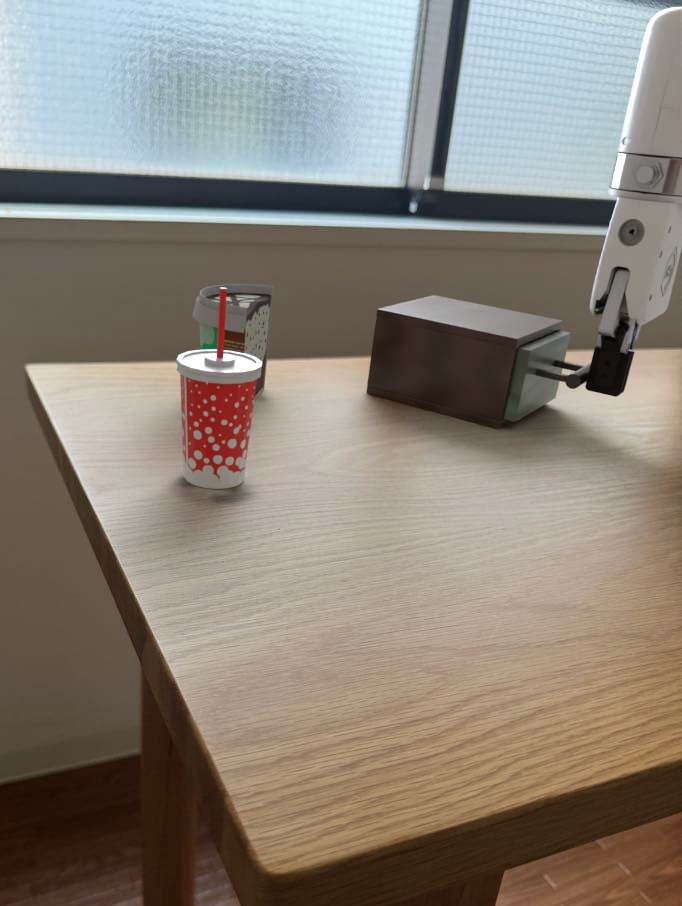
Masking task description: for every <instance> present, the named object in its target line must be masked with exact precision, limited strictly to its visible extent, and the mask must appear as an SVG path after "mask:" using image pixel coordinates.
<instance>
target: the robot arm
mask: <svg viewBox="0 0 682 906" xmlns="http://www.w3.org/2000/svg"><path fill="white" fill-rule="evenodd" d="M639 51H640V52H639V55H638V60H637V64H636V69H635V74H634V77H633V80H632V81H633V82H632V86H631V91H630V95H629V99H628V103H627V107H626V111H625V116H624V121H623V125H622V130H621V133H620V137H619V142H618V146H617V152H616V155H615V159H614V163H613V167H612V172H611V176H610V180H609V185H608V188H607V193H606V194H607V195H609V196H613V197H617V199H616V202H615V204H614V208H613V212H612V215H611V219H610V220H609V224H608V228H607V232H606V235H605V239H604V243H603V246H602V250H601V255H600V257H599V261H598V265H597V269H596V274H595V277H594V281H593V286H592V291H591V294H590V295H591V296H590V303H589V311H590V313H591V314H592V315H593V316H594V317H596V318H597V317H600V316H601V317H600V321H599V326H598V329H597V337H596V341H595V347H594V350H593V352H592V353H593V354H592V357H591V361H590V363H591V365H590V369H589V373H588V377H587V382H586V383H585V390H586V391H589V392H592V393H597V394H601V395H607V396H611V397H615V398H616V397H619V396H620V395H622V394H623V393H624V392H625V391H626V390H625V389H626V386H627V382H628V379H629V374H630V371H631V367H632V363H633V359H634V356H635V351H634V350H635V348H636V345H637V342H638V339H639V336H640V333H641V328H642V326H643V325H645V324H648V323H649V322H651V321H652V320H654V319H656V318H658V317H659V316H661V315H663V314H664V313H665V312H666V311H667V310H668V307H669V304H670V300H671V295H672V291H673V287H674V284H675V283H674V282H675V279H676V275H677V270H678V266H679V261H680V258H681V253H682V6H674V7H668V8H664V9H662V10H660V11H658V12H657V13H655V15H654V16H653V17H651V19H650V21H649V22H648V24H647V25H646V28H645V31H644V34H643V39H642V43H641V47H640V50H639Z"/></svg>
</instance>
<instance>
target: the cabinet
mask: <svg viewBox="0 0 682 906" xmlns="http://www.w3.org/2000/svg"><path fill="white" fill-rule="evenodd" d="M563 324H564V320H562V319H557V318H552V317H547V316H542V315H538V314H532V313H526V312H521V311H516V310H511V309H507V308H501V307H496V306H491V305H487V304H480V303H475V302H471V301H465V300H460V299H456V298H450V297H445V296H440V295H434V294H431V295H429V296H424V297H421V298H416V299H412V300H408V301H403V302H400V303H395V304H392V305H387V306H384V307H379V308H376V315H375V323H374V331H373V338H372V345H371V354H370V361H369V368H368V376H367V383H366V394H368V395H372V396H374V397H375V396H376V397H379V398H382V399H387V400H390V401H394V402H397V403H401V404H405V405H409V406H412V407H416V408H420V409H423V410H427V411H429V412H434V413H438V414H442V415H446V416H449V417H453V418H457V419H460V420H464V421H467V422H471V423H475V424H479V425H482V426H486V427H489V428H493V429H497V430H500V429H501V428H503V427H505V426H506V425H508V424H510V423H512V422H513V421H510V420H506V419H504V414H505V409H506V404H507V400H508V395H509V390H510V385H511V380H512V376H513V371H514V366H515V361H516V356H517V352H518V348H519V347H518V346H521V345H523V344H525V343H528V342H530V341H533V340H535V339H537V338H540V337H542V336H543V337H545V336H548V335H550V334H553V333H555V332H557V331H562V327H563Z"/></svg>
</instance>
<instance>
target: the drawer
mask: <svg viewBox="0 0 682 906" xmlns="http://www.w3.org/2000/svg"><path fill="white" fill-rule="evenodd" d="M571 334H572V333H571V332H569V331H564V330H561V331H557V332H555V333H553V334H550V335H548V336H545V337H543V336H542V337H540V338H537V339H535V340H533V341H530V342H528V343H529V344H526V345H524V346H522V347H519V348H518V352H517V356H516V361H515V366H514V371H513V376H512V380H511V385H510V390H509V395H508V400H507V404H506V409H505V414H504V419H506V420H510V421H512V422H513V423H516V422H518V421H519V420H521V419H523V418H525V417H526V416H528V415H530V414H531V413H534V412H535V411H536V410H538V409H540V408H541V407H543V406H544V405H546V404H548V403H549V402H551V401H553V400H555V399H556V398H557V394H558V391H559V386H560V382H563V383H565V386H566V387H567V388H569V389H571V390H575V389H578V388H579V387H581V386H582V385H585V384H586V382H587V377H588V373H589V369H590V365H591V362H590V363H588V364H586V365H583V364H578V363H574V362H570V361H565V360H566V356H567V352H568V347H569V343H570V339H571ZM563 369H564V370H567V371H571V373H570V374H566V373H563Z"/></svg>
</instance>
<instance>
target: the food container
mask: <svg viewBox="0 0 682 906" xmlns="http://www.w3.org/2000/svg"><path fill="white" fill-rule="evenodd" d="M274 287H275V286H272V285H264V284H248V283H245V284H244V283H243V284H242V283H232V284H230V283H229V284H218V285H212V286H206V287H204V288H201V290H200V291H199V295H198V296H197V297H196V299H195V304H194V308H193V312H192V318H193V319H194V320H196V321H197V322H198V323H199V341H200V350H213V349H216V350H217V339H218V318H219V297H220V288H227V294H226V314H225V333H224V350H227V351H235V352H240V353H245V354H248V355H251V356H254V357H257V358H258V359H259V360H260V361H262V368H261V376H260V378H258V379H257V382H256V390H255V397H254V402H255V401H256V400H257V399H258V398H259V396H261V394H262V393H263V392H264V390H265V386H266V385H265V384H266V374H267V365H268V364H267V363H268V352H269V344H270V343H269V342H270V333H271V331H270V330H271V321H272V311H273V308H274V296H275V293H274V289H275V288H274Z"/></svg>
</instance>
